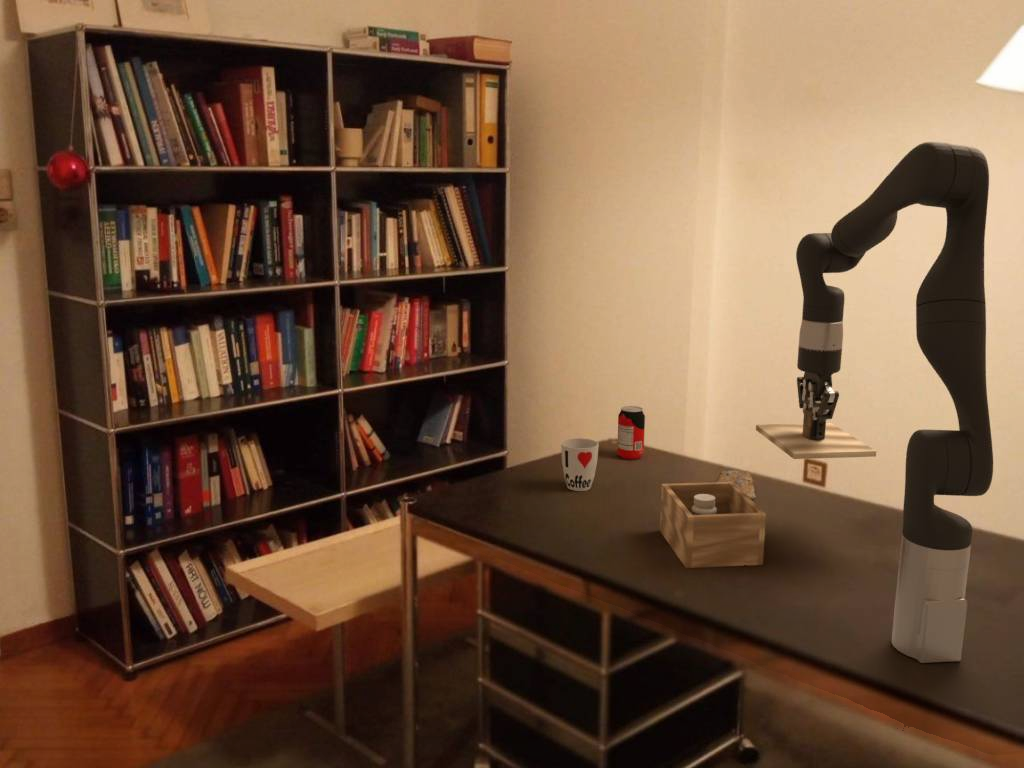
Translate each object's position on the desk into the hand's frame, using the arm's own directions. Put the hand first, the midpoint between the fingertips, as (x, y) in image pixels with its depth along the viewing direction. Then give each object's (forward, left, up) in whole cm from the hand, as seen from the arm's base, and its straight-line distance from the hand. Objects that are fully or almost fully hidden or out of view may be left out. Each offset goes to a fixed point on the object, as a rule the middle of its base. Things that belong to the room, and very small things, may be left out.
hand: (813, 436), depth 183 cm
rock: (+28, +4, -21) cm, 35 cm away
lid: (0, 0, -1) cm, 1 cm away
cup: (+35, +37, -21) cm, 55 cm away
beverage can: (+56, +21, -21) cm, 63 cm away
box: (-1, +19, -21) cm, 28 cm away
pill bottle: (+3, +19, -21) cm, 28 cm away
